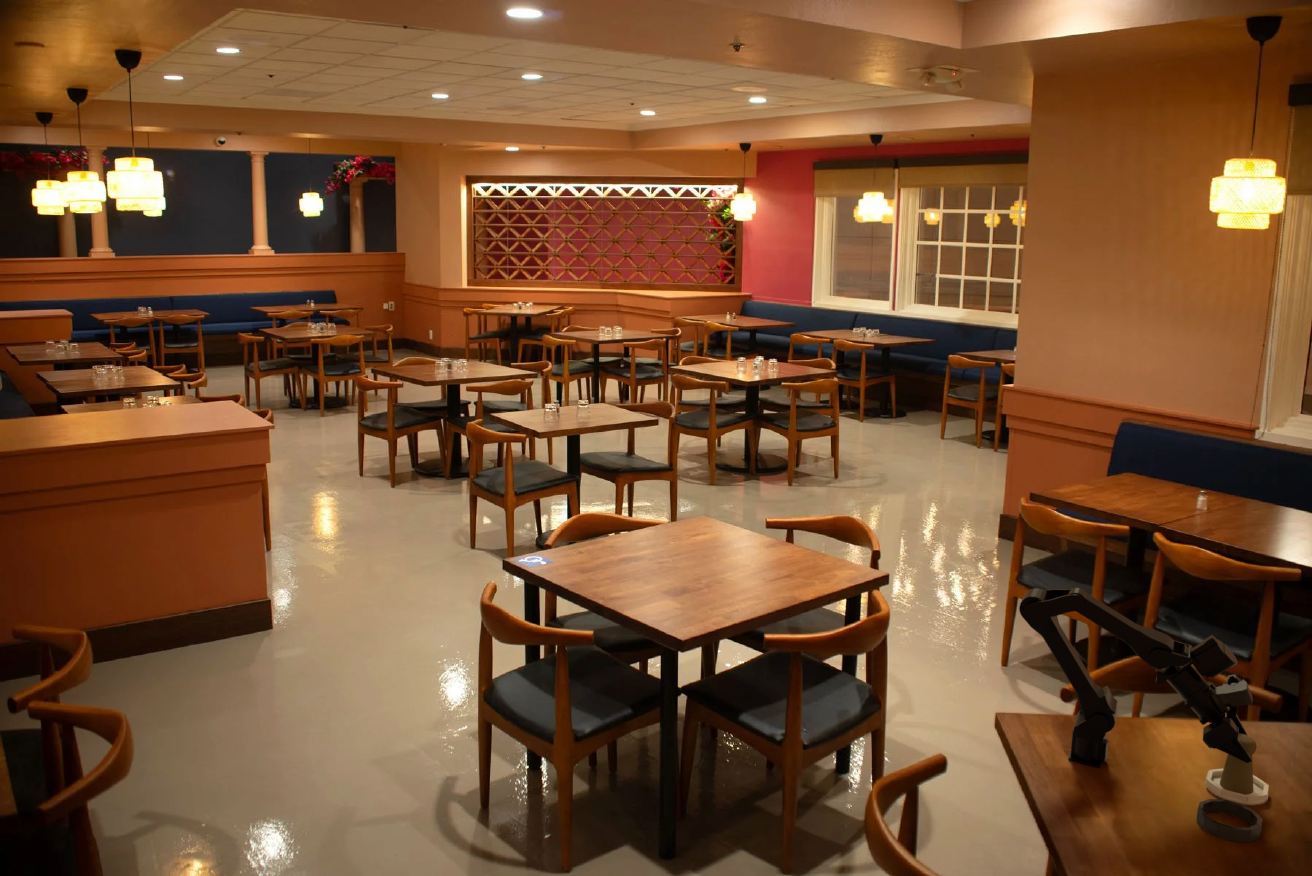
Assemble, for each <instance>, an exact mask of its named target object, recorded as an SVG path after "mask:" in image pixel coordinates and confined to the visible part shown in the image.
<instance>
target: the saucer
mask: <svg viewBox="0 0 1312 876" xmlns="http://www.w3.org/2000/svg"><path fill="white" fill-rule="evenodd" d="M1223 769H1224V767H1223V768H1216V769H1215V768H1214V769H1209V770H1208V771H1207V775H1206V777H1205V787H1206V789H1207V788H1208V789H1207V790H1208V791H1209V792H1210V793H1211V792H1212V793H1211V794H1213V795H1214V794H1215V795H1214V796H1215V797H1217V796H1218V799H1225V800H1228V801H1232V802H1236V803H1240V804H1242V805H1244V806H1260V805H1263V804H1265V803H1267V802H1268V800H1269V789H1270V788H1269V787H1270V785H1269V784H1268V783H1266V782H1265V781H1263V780H1262V779H1260V778H1259V777H1257V776H1256V775H1254V774H1253V793H1251V794H1248V795H1244V794H1240V793H1236V792H1232V791H1228V790H1225V789H1224V788H1222V787H1221V785H1220V780H1221V776H1222V773H1223Z"/></svg>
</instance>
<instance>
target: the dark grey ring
mask: <svg viewBox="0 0 1312 876" xmlns="http://www.w3.org/2000/svg"><path fill="white" fill-rule="evenodd" d="M1208 813H1209V814H1225V815H1229V816H1233V817H1237V818H1239V819H1240V820H1243V821H1245V822H1246V823H1248V824H1249V825H1250V826H1248V827H1243V826H1232V825H1228V824H1226V823H1225V824H1224V823H1221V822H1219V821H1217V820H1215V819H1214V818H1211V817H1210V816H1208V815H1209V814H1208ZM1196 820H1197V821H1196ZM1196 820H1195V821H1196V822H1197V824H1198V823H1199V824H1200V825H1201V826H1202V827H1201V826H1200V825H1199V824H1198V825H1199V826H1200V827H1201V829H1202V828H1203V829H1202V830H1204V829H1205V830H1206V831H1205V830H1204V831H1205V832H1207V831H1208V833H1209V832H1210V833H1209V834H1210V835H1212V836H1215V837H1216V838H1220V839H1222V840H1227V841H1230V842H1235V843H1236V842H1237V843H1251V842H1254V841H1256V840H1260V839H1261V831H1262V825H1263V824H1262V823H1263V818H1262V817H1261V816H1260V815H1259V814H1258V812H1256V811H1255V809H1252V808H1250V807H1248V806H1247V805H1242V804H1240V803H1236V802H1232V801H1228V800H1225V799H1222V798H1208V799H1205V800H1203V801H1200V802H1199V803H1198V806H1197V813H1196Z"/></svg>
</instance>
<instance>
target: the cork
mask: <svg viewBox="0 0 1312 876" xmlns="http://www.w3.org/2000/svg"><path fill="white" fill-rule="evenodd" d="M1238 739H1239V740H1240V742H1241V743H1242V745H1243V746H1244V748H1245V749H1246V751H1247V752H1248V754H1249V756H1250V757H1251V759H1252V761H1251V762H1249V763H1246V762H1244V761H1242V760H1240V759H1238V758H1236V757H1234V756H1232V755H1229V754H1227V756H1226V760H1225V763H1224V766H1223V768H1224V769H1223V773H1222V776H1221V780H1220V785H1221V787H1222V788H1224V789H1225V790H1228V791H1232V792H1236V793H1240V794H1244V795H1248V794H1251V793H1253V775H1254V771H1253V770H1254V769H1253V768H1254V767H1253V765H1254V764H1253V755H1255V753H1256V751H1257V748H1258V747H1257V742H1256V740H1255V739H1254V738H1253V737H1252V736H1251V735H1245V734H1239V735H1238Z"/></svg>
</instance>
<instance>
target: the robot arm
mask: <svg viewBox="0 0 1312 876" xmlns="http://www.w3.org/2000/svg"><path fill="white" fill-rule="evenodd" d="M1018 610H1019V614H1020V616H1021V617H1022V618H1023V619H1024V621H1025V622H1026V623H1027V624H1028V625H1029V627H1030V628H1031V629H1032V630H1034V631H1035V632H1036V633H1037V634H1038V635H1040V636H1041V637H1042V638H1043V640H1044V641H1045V644H1046V646H1047V647H1048V648H1049V650H1050V652H1051V653H1052V656H1053V657H1054V659H1055V660H1056V662H1057V663H1058V665H1059V666H1060V669H1061V670H1062V672H1063V674H1064V675H1065V677H1066V678H1067V680H1068V681H1069V683H1070V685H1071V687H1072V688H1073V690H1074V691H1075V694H1076V696H1077V699H1078V703H1079V706H1080V710H1079V711H1078V712H1077V715H1076V719H1075V722H1074V725H1073V726H1074V727H1073V729H1072V732H1071V733H1072V736H1071V746H1070V747H1071V749H1070V752H1069V753H1070V754H1069V755H1068V760H1070V761H1074V762H1077V763H1080V764H1085V765H1088V766H1092V767H1095V768H1101V767H1102V765H1103V763H1105V762H1106V760H1107V758H1108V752H1109V751H1108V750H1109V741H1110V740H1109V739H1107V734H1108V732H1111V731H1113V729H1114V728H1115V725H1116V720H1117V716H1118V715H1117V714H1118V706H1117V705H1118V700H1117V699H1116V698H1115V697H1114V696H1113V694H1112V692H1111V690H1110V688H1109V686H1108V685H1105V686H1104V687H1101V686H1099V685H1098V684H1097V682H1095V681H1094V680H1093V677H1091V675H1090V673H1089V671H1088V669H1087V668H1086V666H1085V665H1084V663H1083V661H1082V660H1081V658H1080V656H1079V655H1078V653H1077V651H1076V650H1075V648H1074V647H1073V644H1072V643H1071V641H1070V640H1069V638H1068V636H1067V635H1066V633H1065V631H1064V630H1063V628H1062V626H1061V624H1060V621H1059V618H1058V616H1060V615H1064V614H1067V613H1071V612H1077V613H1078V614H1079V615H1081V616H1083V617H1085V618H1086V619H1088V620H1089V621H1090V622H1092V623H1093V624H1095V625H1097V626H1098V627H1100V628H1102V629H1103V630H1105V631H1106V632H1108V633H1110V634H1112V635H1113V636H1115V637H1116V638H1118V639H1119V640H1121V641H1122V642H1124V643H1125V644H1127V645H1128V646H1129V647H1130V648H1131V650H1132V651H1133V652H1134V653H1135V654H1136V655H1137V656H1138V657H1139V658H1140V659H1141V660H1143V662H1145V663H1146V664H1147V665H1148V666H1149V667H1150V668H1153V669H1154V670H1155V675H1156V678H1155V684H1156V685H1157V686H1159V685H1162V683H1164V682H1167V683H1168V684H1169V685H1170V686H1171V687H1172V688H1173V689H1174V690H1175V691H1176V693H1177V694H1178V695H1179V696H1180V697H1181V698H1182V700H1183V701H1184V706H1185V707H1186V708H1187V709H1188V710H1189V709H1191V710H1192V711H1193V712H1194V713H1195V715H1196V716H1198V722H1199V723H1200V724H1201V725H1202V726H1204V725H1205V726H1204V727H1203V729H1202V742H1203V743H1204V744H1205V745H1206V746H1207V747H1208V748H1209V749H1213V750H1215V749H1216V750H1218V751H1220V752H1223V753H1225V754H1227V755H1228V754H1229V755H1232V756H1234V757H1236V758H1238V759H1240V760H1242V761H1244V762H1246V763H1249V762H1251V761H1253V758H1252V759H1251V757H1250V756H1249V754H1248V752H1247V751H1246V749H1245V748H1244V746H1243V745H1242V743H1241V742H1240V740H1239V739H1238V735H1239V734H1245V735H1248V733H1247V730H1246V729H1245V727H1244V725H1243V724H1242V722H1241V720H1240V717H1239V716H1238V714H1237V712H1238V707H1240V706H1249V705H1251V704H1253V702H1254V701H1253V695H1252V693H1251V690H1250V687H1249V684H1248V683H1247V681H1246V680H1245V679H1241V678H1240V677H1239V676H1237V674H1231V675H1230V674H1229V675H1227V680H1226V683H1222V685H1218V686H1216V684H1215V683H1213V682H1211V681H1206V680H1205V679H1204V677H1206V679H1208V678H1211V679H1213V678H1216V677H1217V676H1219V675H1220V674H1222V673H1223V672H1226V671H1227V670H1230V669H1231V668H1232V667H1234V666H1236V665H1237V664H1239V662H1238V659H1237V657H1236V656H1235V654H1234V653H1233V651H1232V650H1231V649H1230V648H1229V646H1228V645H1227V644H1226V643H1224V642H1222V641H1221V640H1220V639H1217V638H1216V636H1214V635H1213V634H1211V635H1210V636H1208V637H1207V638H1205V640H1202V641H1201V642H1200V643H1199V644H1197V645H1195V646H1194V647H1193V646H1192V645H1191V644H1188V643H1185V642H1182V641H1177V640H1174V638H1172V637H1171V636H1170V635H1168V634H1167V633H1164V632H1161V631H1159V630H1156V629H1154V628H1153V627H1149V626H1142V625H1140V624H1138V623H1136V622H1134V621H1132V620H1130V619H1129V618H1128V617H1126V616H1124V615H1123V614H1121V613H1119V612H1118V611H1116V610H1114V609H1113V608H1111V607H1110V606H1108V605H1107V604H1105V603H1104V602H1102V601H1100V600H1099V599H1097V598H1095V597H1094V596H1092V595H1091V594H1089V593H1087V591H1085V589H1082V588H1080V587H1073V588H1051V589H1042V588H1036V587H1035V588H1030V589H1029V590H1027V591H1026V592H1025V594H1024V595H1023V597H1022V599H1021V601H1020V603H1019V607H1018ZM1206 724H1207V725H1206ZM1248 736H1249V735H1248Z"/></svg>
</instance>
